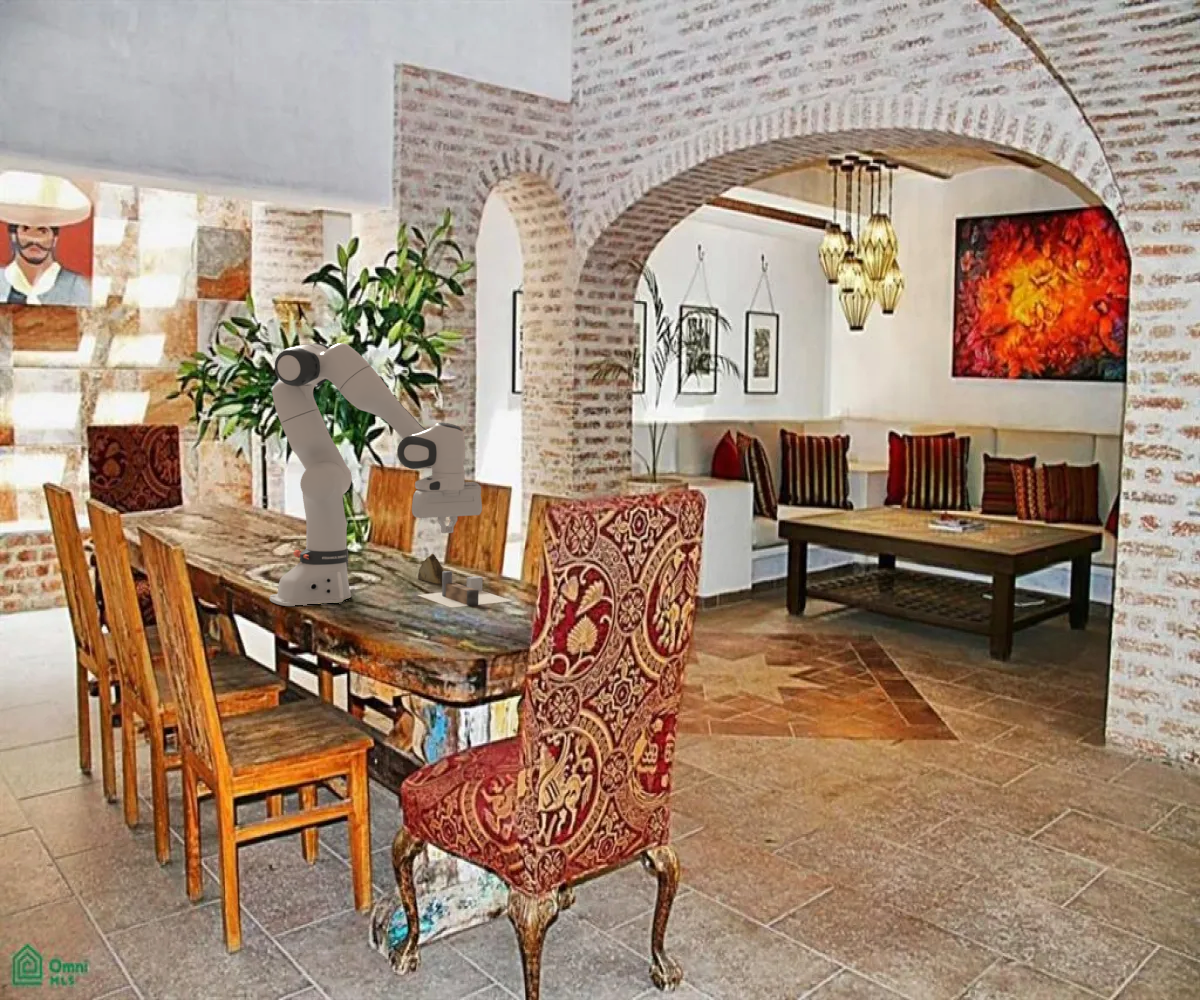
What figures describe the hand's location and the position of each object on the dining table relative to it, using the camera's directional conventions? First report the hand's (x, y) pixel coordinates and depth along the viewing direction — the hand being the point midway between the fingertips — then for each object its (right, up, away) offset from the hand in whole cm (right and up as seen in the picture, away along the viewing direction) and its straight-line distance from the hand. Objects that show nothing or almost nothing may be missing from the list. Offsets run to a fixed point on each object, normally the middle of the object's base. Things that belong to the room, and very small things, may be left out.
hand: (447, 532), depth 308 cm
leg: (+3, -20, +9) cm, 22 cm away
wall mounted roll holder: (+3, -20, +14) cm, 24 cm away
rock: (-10, -17, +39) cm, 44 cm away
